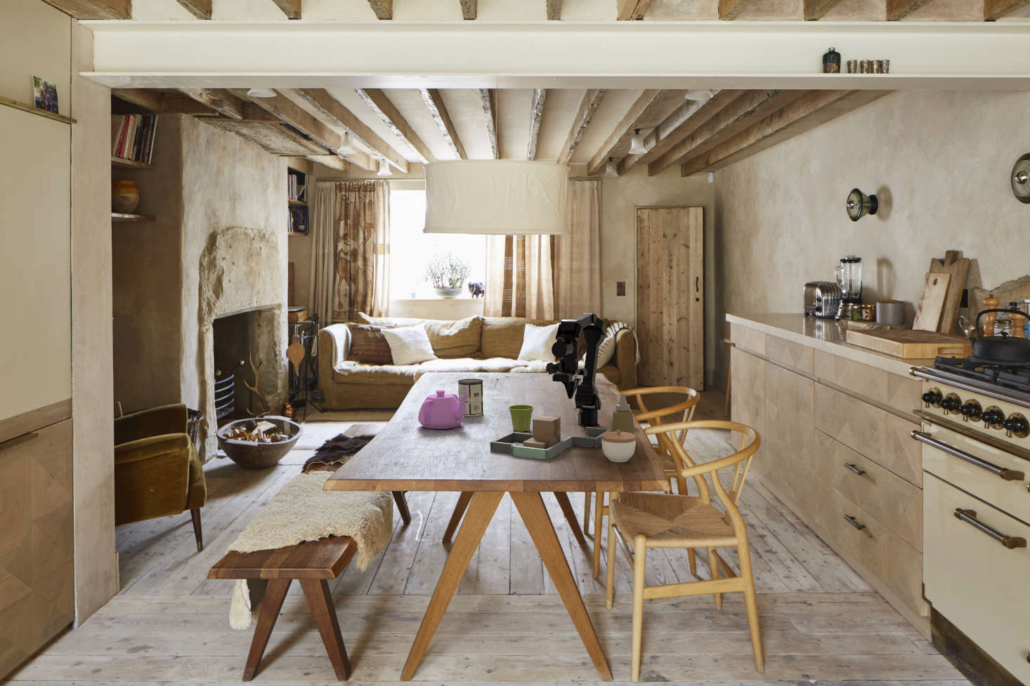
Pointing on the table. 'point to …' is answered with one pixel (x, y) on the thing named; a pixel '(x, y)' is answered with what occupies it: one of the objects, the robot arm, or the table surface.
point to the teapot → (442, 411)
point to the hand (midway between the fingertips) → (570, 398)
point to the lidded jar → (618, 445)
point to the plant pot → (521, 417)
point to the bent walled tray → (515, 447)
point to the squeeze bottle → (622, 417)
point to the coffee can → (472, 395)
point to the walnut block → (545, 432)
